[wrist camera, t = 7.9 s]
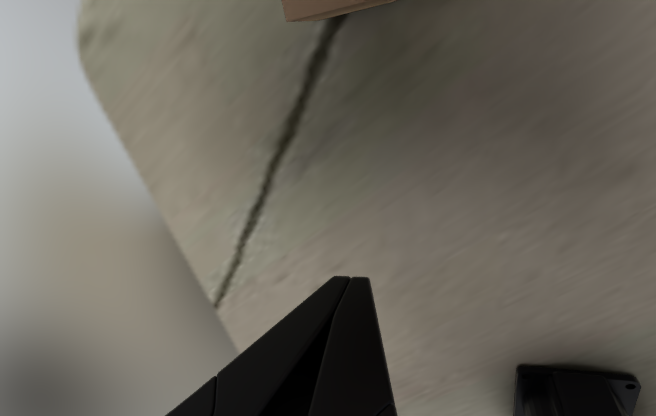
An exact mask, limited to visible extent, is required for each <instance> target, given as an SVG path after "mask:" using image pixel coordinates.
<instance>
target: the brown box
mask: <svg viewBox="0 0 656 416" xmlns="http://www.w3.org/2000/svg"><path fill="white" fill-rule="evenodd" d="M394 1H398V0H282V4H283V8H284V13H285V17H286V21H287V22H294V21H316V20H323V19H327V18H331V17H334V16H338V15H342V14H346V13H350V12H354V11H358V10H362V9H366V8H370V7H374V6H378V5H382V4H386V3H390V2H394Z"/></svg>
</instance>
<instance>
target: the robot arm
mask: <svg viewBox="0 0 656 416" xmlns="http://www.w3.org/2000/svg"><path fill="white" fill-rule="evenodd" d="M640 389H641V385H640V383H639V381H638V380H637V378H636V377H634V376H630V375H621V374H609V373H598V372H586V371H574V370H563V369H551V368H540V367H528V366H521V367H519V368H517V370H516V381H515V397H514V412H513V416H632V414H633V411H634V408H635V405H636V401H637V398H638V395H639V392H640ZM165 416H397V411H396V407H395V403H394V397H393V392H392V387H391V383H390V378H389V373H388V368H387V363H386V358H385V353H384V348H383V343H382V338H381V333H380V328H379V323H378V318H377V313H376V308H375V303H374V298H373V293H372V288H371V283H370V279H369V278H368V277H352V278H350V277H349V276H334V277H332V278H331V279H330V280H328V281H327V282H326V283H325V284H324V285H323V286H321V287H320V288H319V289H318V290H317V291H315V292H314V293H313V294H312V295H311V296H309V297H308V298H307V299H306V300H305V301H303V302H302V303H301V304H300V305H299V306H297V307H296V308H295V309H294V310H293V311H291V312H290V313H289V314H288V315H287V316H285V317H284V318H283V319H282V320H281V321H279V322H278V323H277V324H276V325H275V326H273V327H272V328H271V329H270V330H269V331H267V332H266V333H265V334H264V335H263V336H262V337H260V338H259V339H258V340H257V341H256V342H254V343H253V344H252V345H251V346H250V347H248V348H247V349H246V350H245V351H244V352H242V353H241V354H240V355H239V356H238V357H236V358H235V359H234V360H233V361H232V362H230V363H229V364H228V365H227V366H226V367H225V368H223V369H222V370H221V371H220V372H219V373H218V374H217V377H216V376H214V377H212V378H211V379H210V380H209V381H208V382H206V383H205V384H204V385H203V386H202V387H200V388H199V389H198V390H197V391H196V392H194V393H193V394H192V395H190V396H189V397H188V398H187V399H185V400H184V401H183V402H182V403H181V404H180V405H178V406H177V407H176V408H174V409H173V410H172V411H170V412H169V413H168V414H167V415H165Z"/></svg>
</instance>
